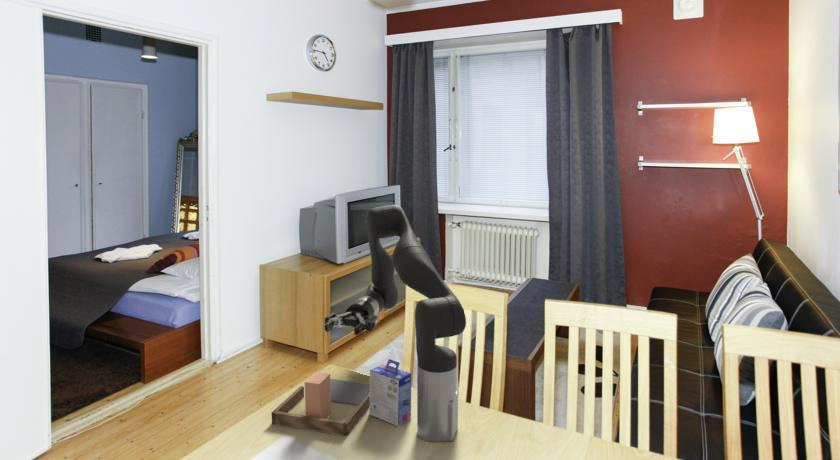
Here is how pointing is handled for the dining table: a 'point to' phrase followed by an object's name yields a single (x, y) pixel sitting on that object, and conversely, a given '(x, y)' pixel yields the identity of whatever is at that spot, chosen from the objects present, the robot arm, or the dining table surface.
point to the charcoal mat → (348, 391)
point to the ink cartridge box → (390, 393)
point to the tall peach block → (318, 395)
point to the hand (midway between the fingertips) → (340, 330)
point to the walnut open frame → (315, 423)
